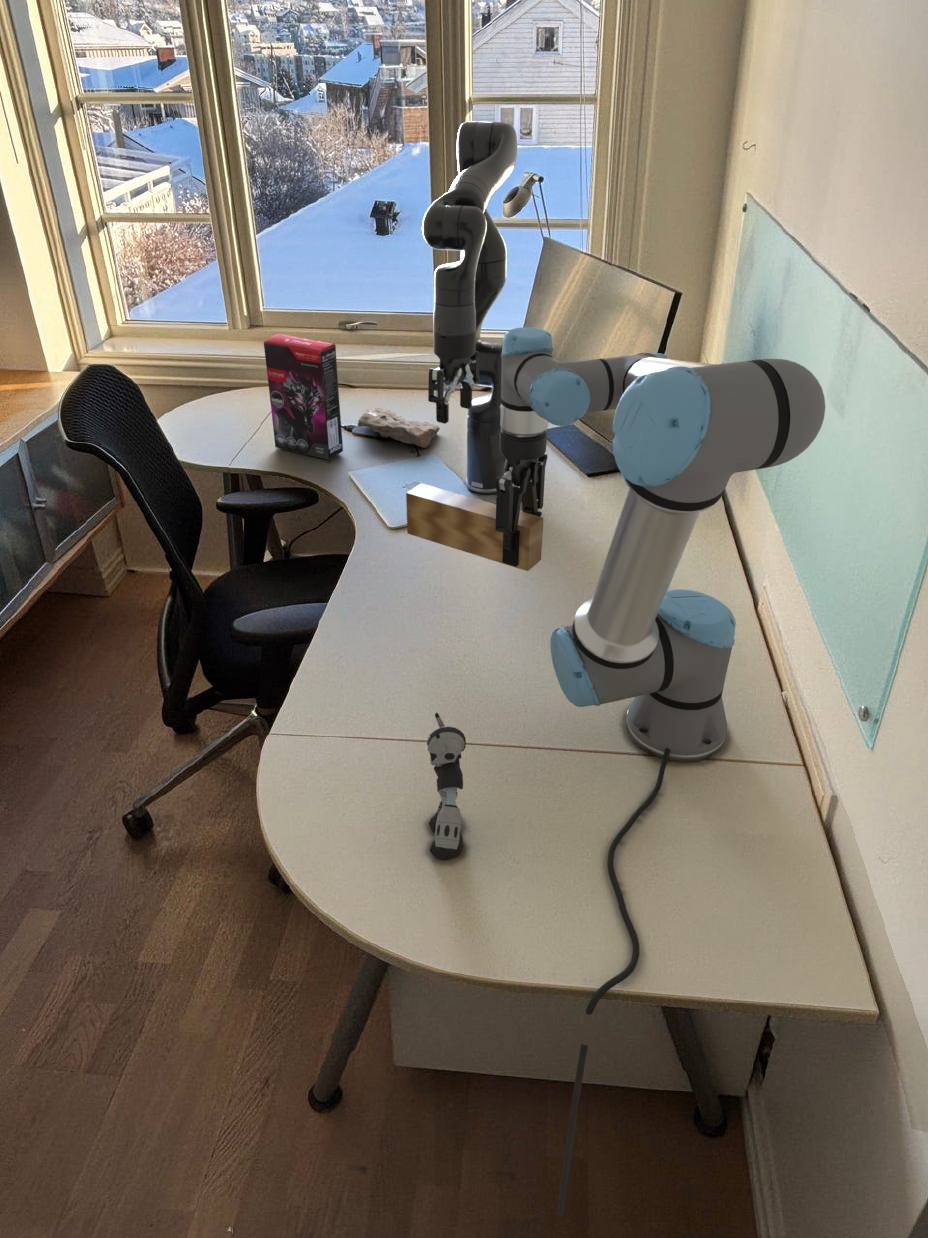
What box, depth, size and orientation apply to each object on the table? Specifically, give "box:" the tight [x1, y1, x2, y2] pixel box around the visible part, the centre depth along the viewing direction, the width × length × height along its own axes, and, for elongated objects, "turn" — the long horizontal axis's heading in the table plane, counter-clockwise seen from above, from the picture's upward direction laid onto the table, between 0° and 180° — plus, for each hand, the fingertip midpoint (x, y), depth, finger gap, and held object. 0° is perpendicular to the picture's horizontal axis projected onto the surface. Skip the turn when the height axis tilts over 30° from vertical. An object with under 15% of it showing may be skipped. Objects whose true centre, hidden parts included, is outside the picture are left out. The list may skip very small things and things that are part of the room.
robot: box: [426, 712, 467, 861], centre depth 119 cm, size 20×5×20 cm, turn 3°
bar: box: [405, 483, 545, 572], centre depth 161 cm, size 25×5×8 cm, turn 58°
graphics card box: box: [263, 333, 344, 460], centre depth 223 cm, size 17×7×27 cm, turn 62°
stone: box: [357, 407, 441, 449], centre depth 236 cm, size 21×15×6 cm
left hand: (454, 414), depth 172 cm, fingers open, 8 cm apart
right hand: (518, 556), depth 159 cm, fingers closed on bar, 5 cm apart
